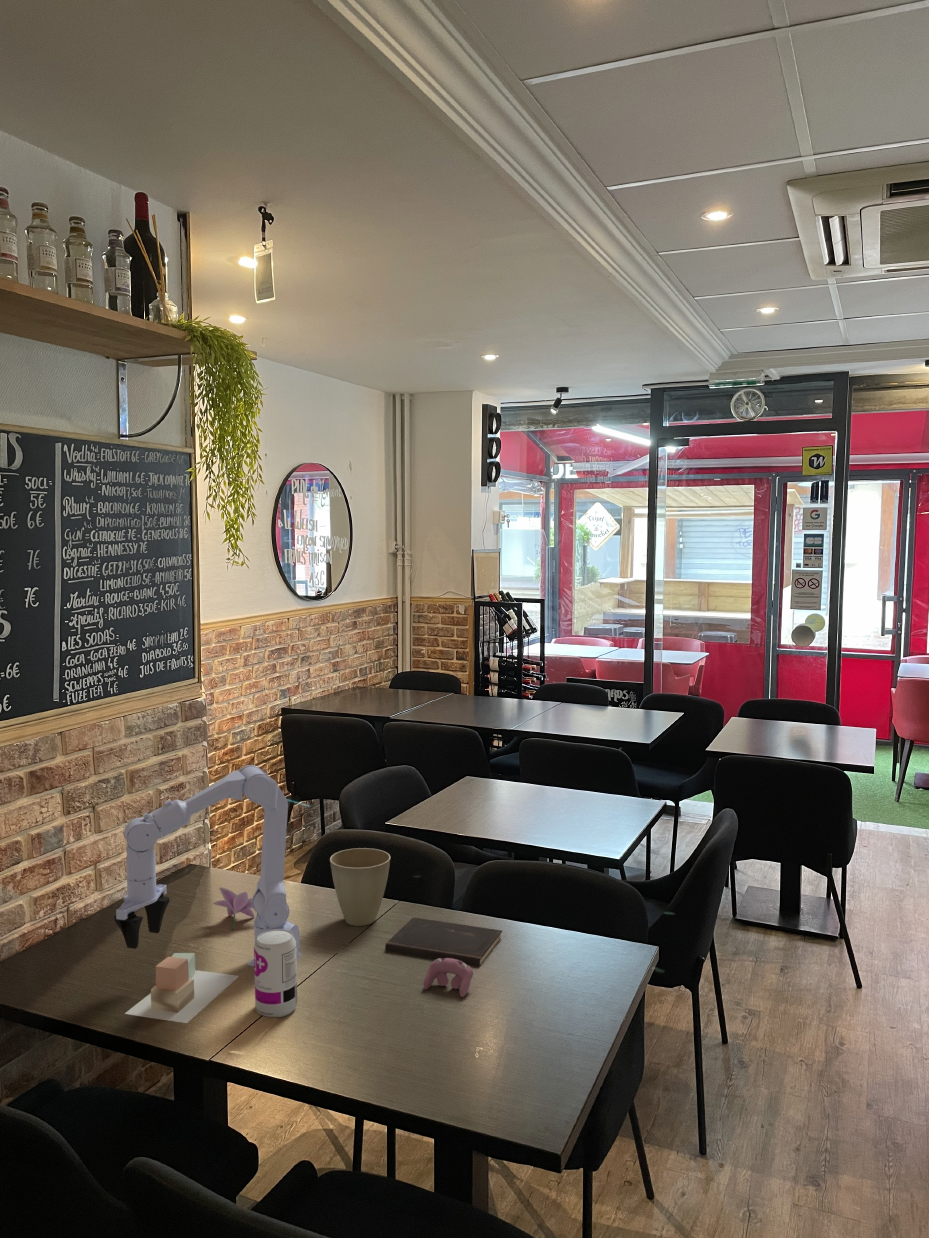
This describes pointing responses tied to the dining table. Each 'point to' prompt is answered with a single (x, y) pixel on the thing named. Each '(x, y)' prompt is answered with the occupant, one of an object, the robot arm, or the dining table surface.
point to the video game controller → (452, 966)
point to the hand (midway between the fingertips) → (143, 939)
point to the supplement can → (275, 973)
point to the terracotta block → (172, 973)
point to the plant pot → (360, 882)
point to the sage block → (190, 962)
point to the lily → (235, 903)
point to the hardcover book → (444, 941)
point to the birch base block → (172, 997)
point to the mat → (204, 993)
